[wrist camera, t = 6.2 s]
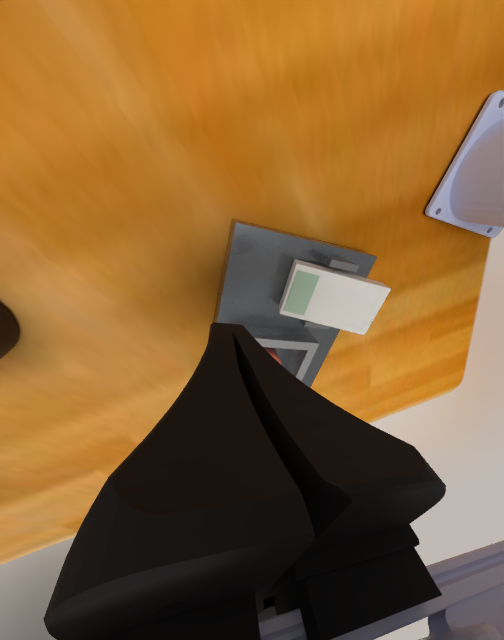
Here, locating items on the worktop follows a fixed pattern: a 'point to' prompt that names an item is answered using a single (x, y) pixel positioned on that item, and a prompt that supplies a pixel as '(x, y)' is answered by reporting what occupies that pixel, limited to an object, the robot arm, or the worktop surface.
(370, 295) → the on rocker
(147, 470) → the robot arm
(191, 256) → the worktop surface
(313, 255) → the panel
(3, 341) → the vinegar
